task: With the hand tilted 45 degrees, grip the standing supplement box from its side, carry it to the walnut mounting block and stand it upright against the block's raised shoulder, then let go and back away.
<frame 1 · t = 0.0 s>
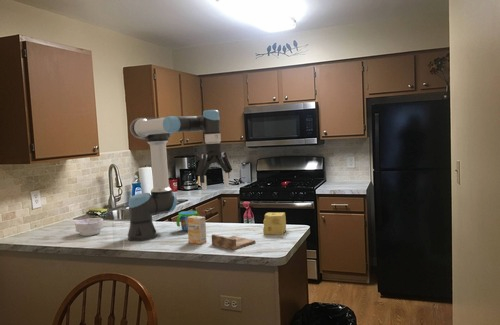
hand: (215, 187, 189), 28 cm above the countertop, tool pointing down, fingers open, 13 cm apart
paper bowls: (90, 234, 232), on the countertop
snack cup: (188, 230, 229), on the countertop
supplement box: (197, 243, 200), on the countertop
cheese: (275, 232, 212), on the countertop
mounting block: (233, 243, 194), on the countertop
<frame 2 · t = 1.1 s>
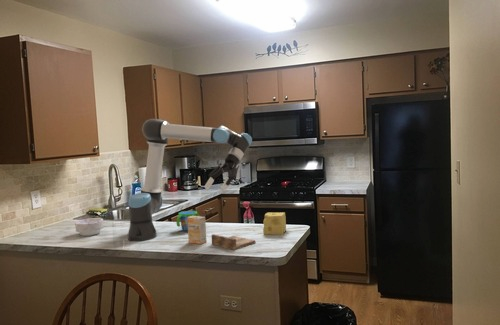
hand: (214, 189, 206), 25 cm above the countertop, tool tilted 45°, fingers open, 13 cm apart
nothing on the countertop moved.
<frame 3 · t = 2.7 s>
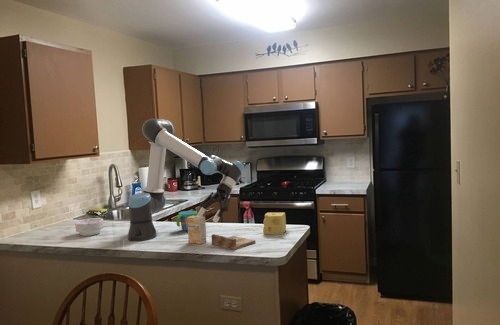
hand: (205, 220, 201), 10 cm above the countertop, tool tilted 45°, fingers open, 13 cm apart
nothing on the countertop moved.
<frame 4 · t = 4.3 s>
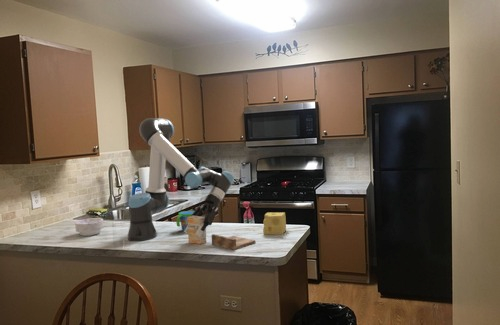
hand: (191, 234, 197), 5 cm above the countertop, tool tilted 45°, fingers closed on supplement box, 9 cm apart
supplement box: (197, 242, 200), on the countertop, touching gripper
everything else where it was.
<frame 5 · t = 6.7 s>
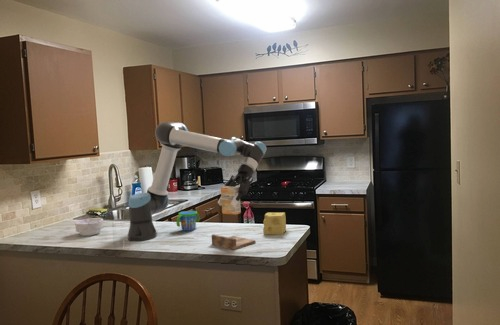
hand: (225, 204, 191), 19 cm above the countertop, tool tilted 45°, fingers closed on supplement box, 9 cm apart
supplement box: (231, 213, 193), point 15 cm above the countertop, touching gripper
everything else where it was.
when the fingers open (7 cm above the countertop, at t = 9.4 s): supplement box stays where it is, resting on mounting block.
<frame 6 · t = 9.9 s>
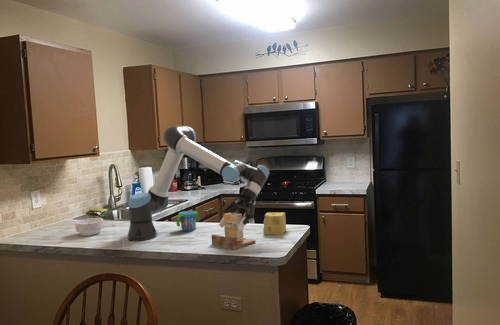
hand: (229, 227, 192), 8 cm above the countertop, tool tilted 45°, fingers open, 13 cm apart
supplement box: (234, 240, 194), point 1 cm above the countertop, touching mounting block
everything else where it was.
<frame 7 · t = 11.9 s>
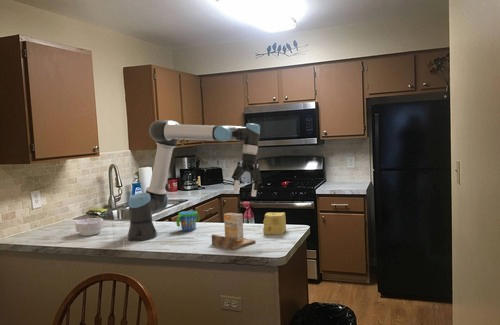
hand: (244, 194, 206), 22 cm above the countertop, tool pointing down, fingers open, 13 cm apart
nothing on the countertop moved.
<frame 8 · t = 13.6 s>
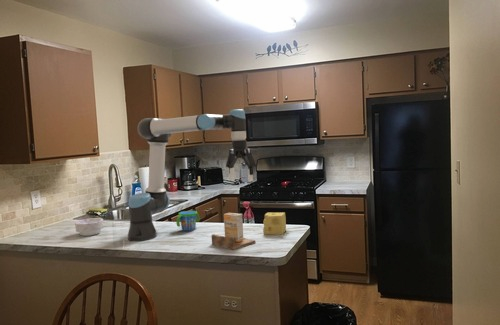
hand: (241, 180, 206), 29 cm above the countertop, tool pointing down, fingers open, 13 cm apart
nothing on the countertop moved.
at the end: supplement box inside the target area on the mounting block (0.5 cm from its centre), point 1.3 cm above the mounting block's base; supplement box tilted 0°; the gripper is holding nothing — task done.
